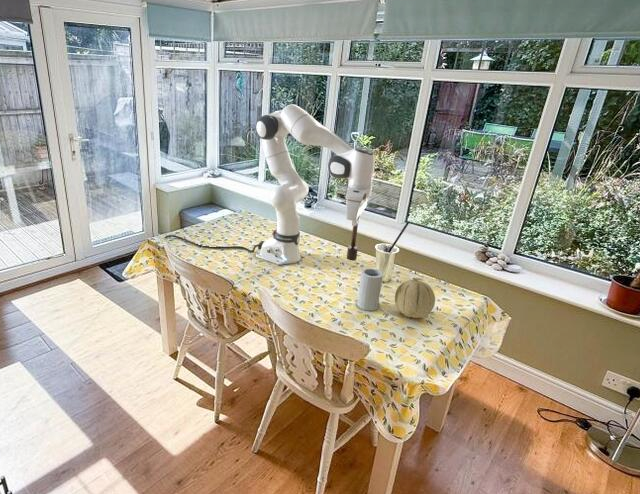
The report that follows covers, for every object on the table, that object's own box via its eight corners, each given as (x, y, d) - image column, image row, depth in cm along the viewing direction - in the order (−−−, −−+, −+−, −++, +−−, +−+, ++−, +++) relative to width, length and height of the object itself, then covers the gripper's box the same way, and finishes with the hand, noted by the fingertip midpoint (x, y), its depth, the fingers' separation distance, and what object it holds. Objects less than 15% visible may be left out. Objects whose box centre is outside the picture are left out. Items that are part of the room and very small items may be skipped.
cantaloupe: (410, 329, 152) (417, 294, 146) (384, 309, 165) (389, 276, 159) (440, 320, 158) (448, 286, 152) (412, 301, 170) (418, 269, 164)
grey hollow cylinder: (355, 307, 166) (359, 274, 160) (359, 298, 172) (363, 266, 167) (375, 312, 162) (380, 279, 156) (379, 302, 169) (384, 270, 163)
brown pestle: (345, 259, 168) (350, 213, 160) (347, 255, 171) (353, 210, 164) (355, 261, 167) (360, 214, 159) (357, 257, 170) (363, 211, 162)
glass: (398, 286, 182) (409, 223, 170) (371, 283, 184) (381, 220, 172) (395, 274, 192) (405, 214, 180) (370, 272, 194) (378, 212, 182)
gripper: (357, 183, 168) (353, 215, 173) (344, 196, 151) (340, 231, 156) (373, 185, 165) (368, 217, 170) (361, 198, 148) (357, 234, 154)
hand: (355, 224), depth 163 cm, fingers closed on brown pestle, 2 cm apart
